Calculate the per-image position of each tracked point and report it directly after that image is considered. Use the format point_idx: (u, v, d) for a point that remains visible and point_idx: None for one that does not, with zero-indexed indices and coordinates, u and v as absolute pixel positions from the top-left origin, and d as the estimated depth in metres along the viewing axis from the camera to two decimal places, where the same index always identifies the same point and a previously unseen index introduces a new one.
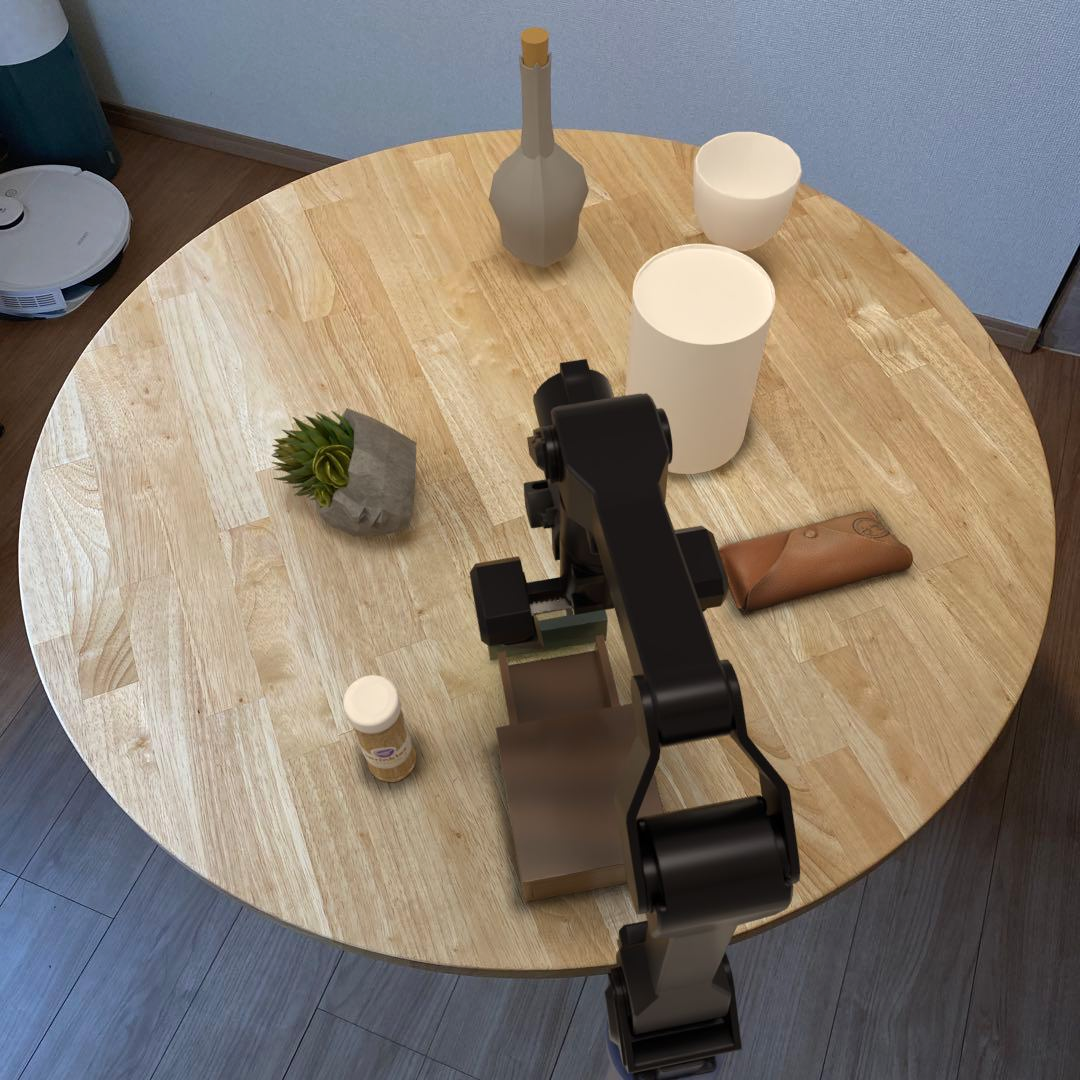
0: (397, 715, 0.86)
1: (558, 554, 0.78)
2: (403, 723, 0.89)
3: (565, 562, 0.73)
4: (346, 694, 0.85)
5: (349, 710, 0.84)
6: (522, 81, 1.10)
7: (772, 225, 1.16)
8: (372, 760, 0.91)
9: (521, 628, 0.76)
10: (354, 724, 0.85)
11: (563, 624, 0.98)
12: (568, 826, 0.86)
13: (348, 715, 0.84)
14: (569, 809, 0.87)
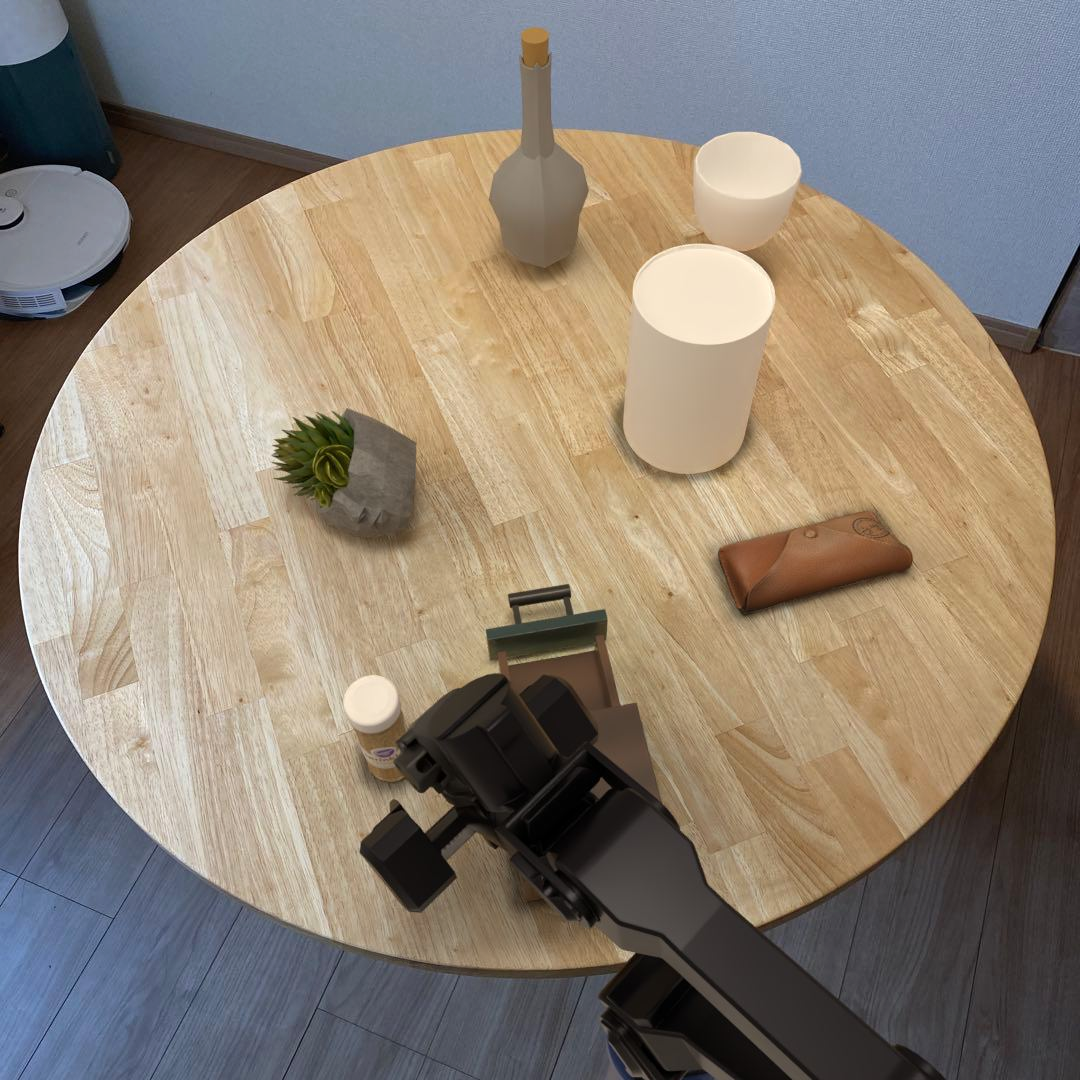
0: (397, 715, 0.86)
1: None
2: (403, 723, 0.89)
3: None
4: (346, 694, 0.85)
5: (349, 710, 0.84)
6: (523, 81, 1.10)
7: (772, 225, 1.16)
8: (372, 760, 0.91)
9: (447, 886, 0.72)
10: (354, 724, 0.85)
11: (563, 624, 0.98)
12: None
13: (348, 715, 0.84)
14: None
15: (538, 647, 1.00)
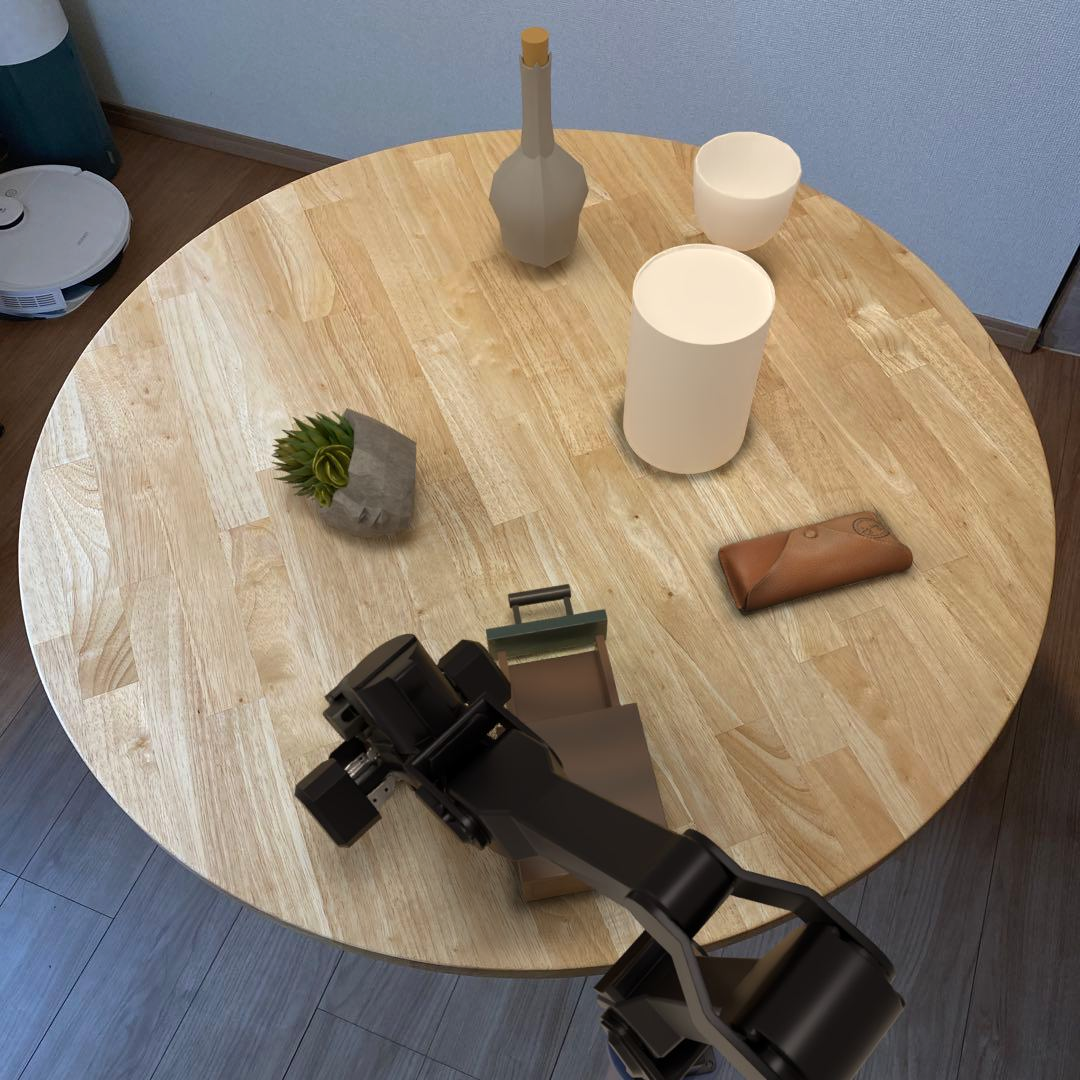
0: None
1: None
2: None
3: (416, 788, 0.78)
4: None
5: None
6: (523, 81, 1.10)
7: (772, 225, 1.16)
8: None
9: (373, 825, 0.82)
10: None
11: (563, 624, 0.98)
12: None
13: None
14: None
15: (538, 647, 1.00)
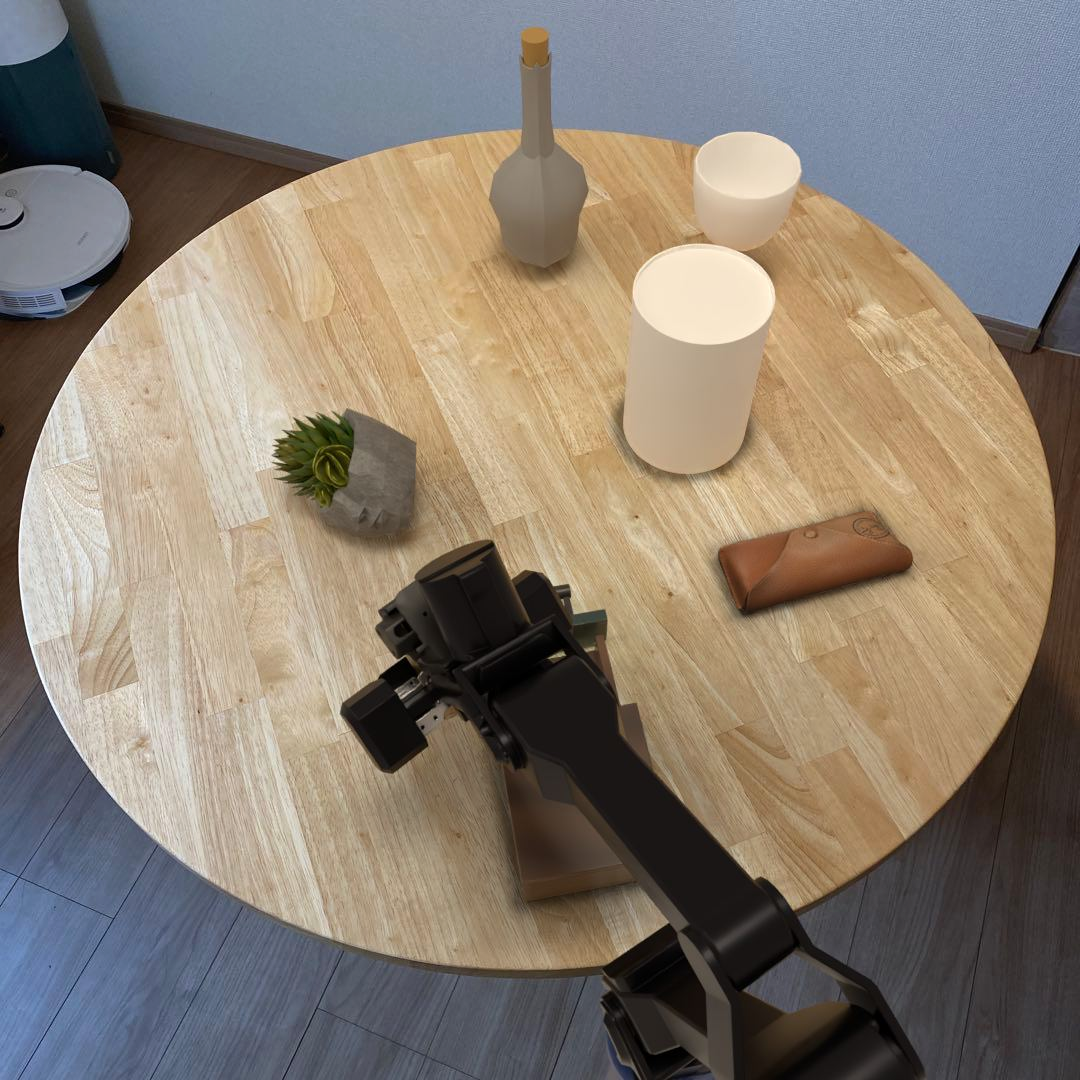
0: None
1: None
2: None
3: None
4: None
5: None
6: (523, 81, 1.10)
7: (772, 225, 1.16)
8: None
9: None
10: None
11: None
12: (568, 826, 0.86)
13: None
14: (569, 809, 0.87)
15: None
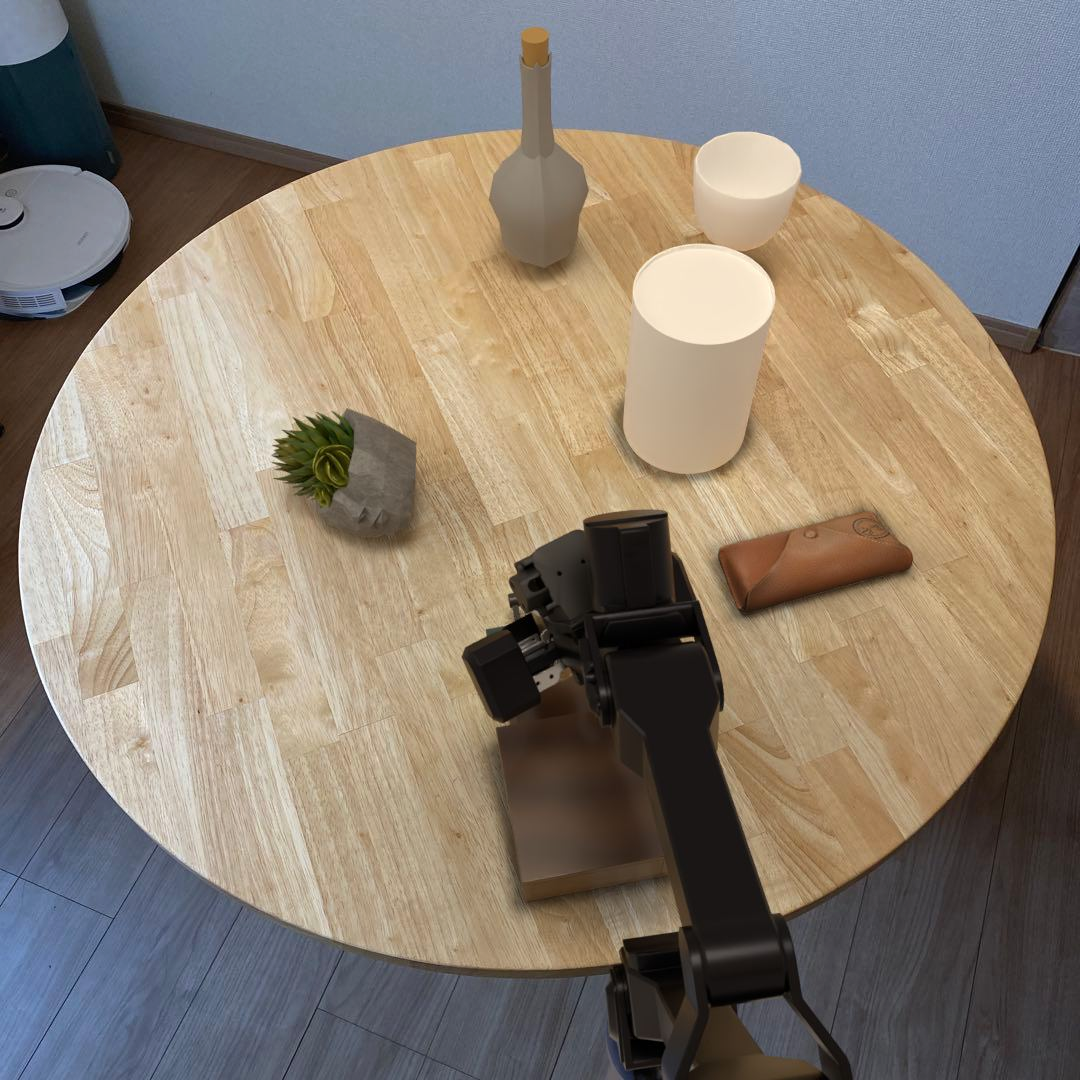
0: None
1: None
2: None
3: None
4: None
5: None
6: (523, 81, 1.10)
7: (772, 225, 1.16)
8: None
9: (531, 707, 0.80)
10: None
11: None
12: (568, 826, 0.86)
13: None
14: (569, 809, 0.87)
15: None
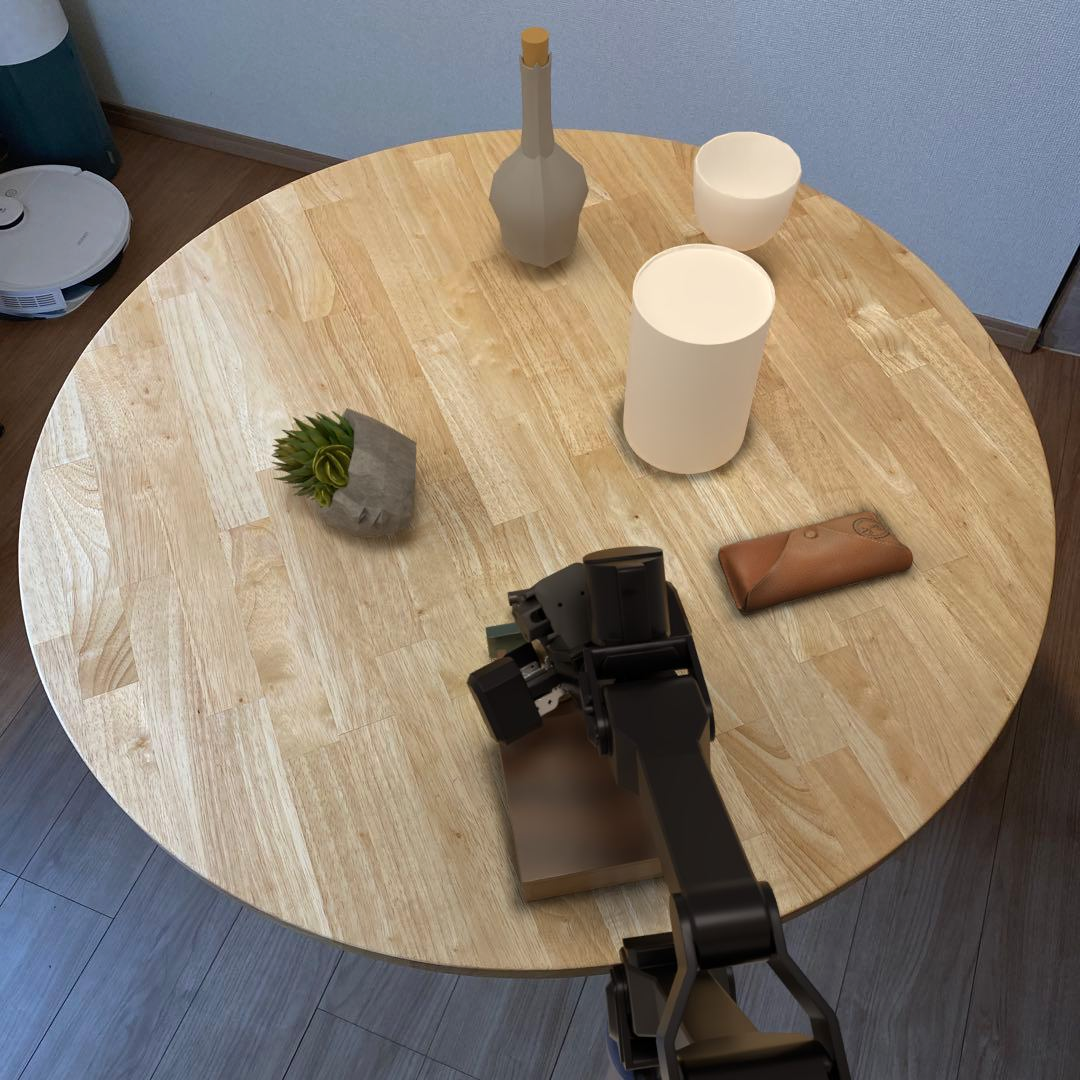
0: None
1: None
2: None
3: None
4: None
5: None
6: (523, 81, 1.10)
7: (772, 225, 1.16)
8: None
9: None
10: None
11: None
12: (568, 826, 0.86)
13: None
14: (569, 809, 0.87)
15: None
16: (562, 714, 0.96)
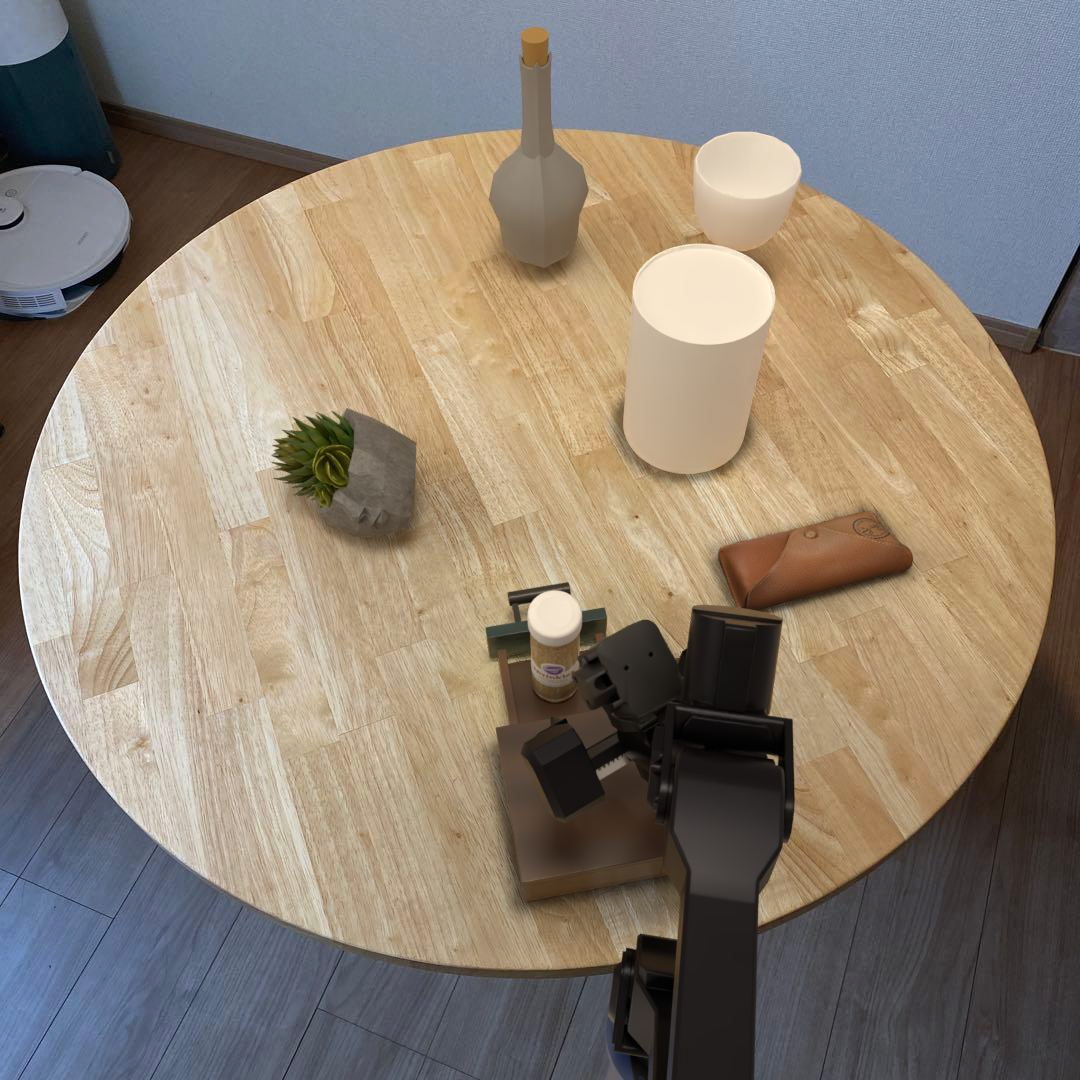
0: (576, 634, 0.87)
1: None
2: (578, 645, 0.90)
3: None
4: (532, 603, 0.87)
5: (533, 618, 0.86)
6: (523, 81, 1.10)
7: (772, 225, 1.16)
8: (539, 675, 0.93)
9: (594, 805, 0.75)
10: (534, 633, 0.86)
11: None
12: (568, 826, 0.86)
13: (531, 622, 0.86)
14: None
15: None
16: (562, 714, 0.96)
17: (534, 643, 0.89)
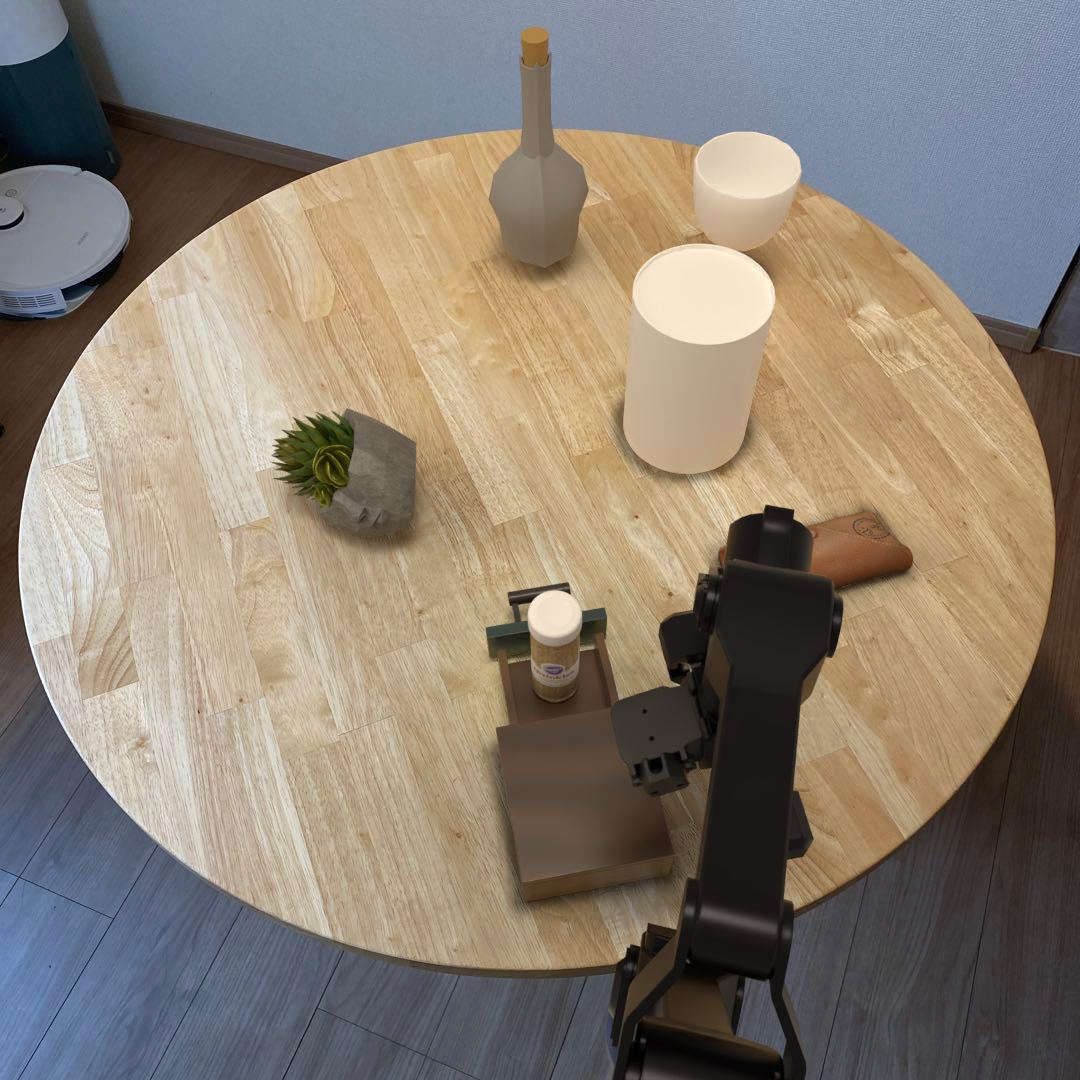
0: (576, 634, 0.87)
1: None
2: (578, 645, 0.90)
3: None
4: (533, 603, 0.87)
5: (533, 618, 0.86)
6: (522, 81, 1.10)
7: (772, 225, 1.16)
8: (539, 675, 0.93)
9: None
10: (534, 632, 0.86)
11: None
12: (568, 826, 0.86)
13: (531, 622, 0.86)
14: (569, 809, 0.87)
15: None
16: (562, 714, 0.96)
17: (534, 643, 0.89)
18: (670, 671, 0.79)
